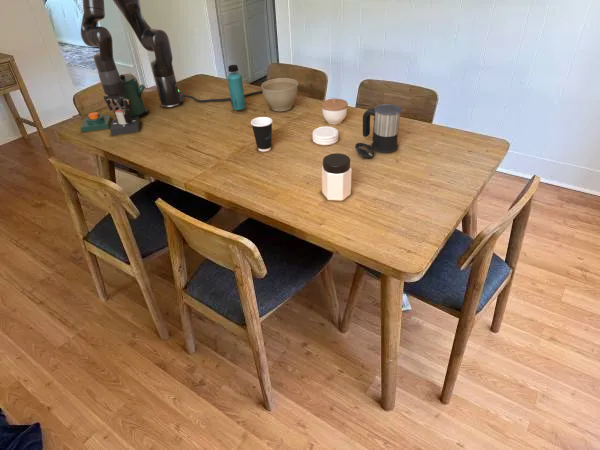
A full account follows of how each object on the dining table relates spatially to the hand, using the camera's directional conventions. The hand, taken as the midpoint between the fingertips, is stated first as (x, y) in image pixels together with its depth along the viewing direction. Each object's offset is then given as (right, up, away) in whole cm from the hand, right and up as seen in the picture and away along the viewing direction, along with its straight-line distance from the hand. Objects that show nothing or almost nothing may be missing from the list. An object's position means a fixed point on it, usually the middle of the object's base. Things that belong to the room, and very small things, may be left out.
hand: (124, 121), depth 174 cm
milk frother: (+102, -17, -24) cm, 107 cm away
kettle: (-2, +7, +15) cm, 17 cm away
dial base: (0, -3, +2) cm, 4 cm away
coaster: (+84, -11, -15) cm, 86 cm away
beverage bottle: (+47, +8, +12) cm, 49 cm away
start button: (-15, +3, +4) cm, 16 cm away
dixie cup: (+61, -15, -19) cm, 66 cm away
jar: (+86, -34, -45) cm, 103 cm away
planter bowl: (+66, +9, +12) cm, 68 cm away
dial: (0, 0, 0) cm, 1 cm away
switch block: (-15, 0, +7) cm, 16 cm away
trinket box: (+89, -1, -2) cm, 89 cm away
